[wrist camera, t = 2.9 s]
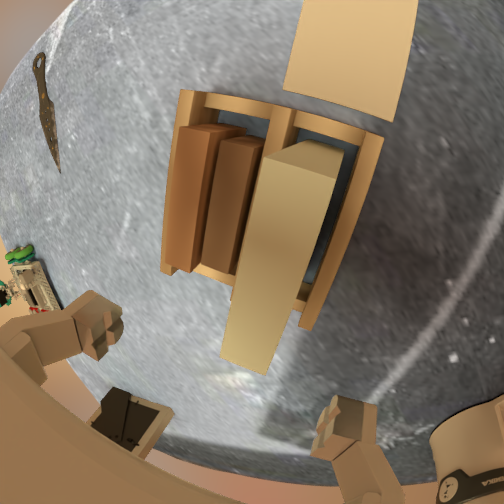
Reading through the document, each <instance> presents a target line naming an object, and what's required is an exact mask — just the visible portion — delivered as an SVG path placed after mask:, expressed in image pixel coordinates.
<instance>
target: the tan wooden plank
mask: <svg viewBox="0 0 504 504" xmlns="http://www.w3.org/2000/svg"><path fill="white" fill-rule="evenodd" d="M344 151H345V150H343V149H340V148H337V147H334V146H331V145H328V144H325V143H321V142H318V141H315V140H312V139H308V140H305V141H303V142H300V143H297V144H295V145H292V146H290V147H287V148H285V149H282V150H280V151H277V152H275V153H272V154H270V155H268V156H265V157H264V158H263V162H262V167H261V171H260V175H259V180H258V184H257V188H256V193H255V197H254V202H253V206H252V211H251V215H250V220H249V224H248V228H247V233H246V237H245V242H244V246H243V251H242V255H241V260H240V264H239V269H238V274H237V278H236V283H235V287H234V292H233V296H232V301H231V306H230V310H229V315H228V319H227V324H226V329H225V333H224V338H223V343H222V347H221V352H220V358H223V359H225V360H227V361H230V362H232V363H234V364H237V365H239V366H242V367H244V368H247V369H249V370H252V371H254V372H257V373H260V374H262V375H266V372H267V370H268V368H269V365H270V363H271V360H272V358H273V356H274V353H275V351H276V348H277V346H278V343H279V341H280V338H281V336H282V333H283V331H284V328H285V326H286V323H287V320H288V318H289V315H290V313H291V310H292V307H293V305H294V302H295V299H296V297H297V294H298V291H299V289H300V286H301V283H302V281H303V278H304V275H305V272H306V270H307V267H308V264H309V261H310V258H311V255H312V253H313V250H314V247H315V244H316V241H317V238H318V235H319V232H320V229H321V226H322V223H323V220H324V217H325V214H326V211H327V208H328V205H329V202H330V198H331V195H332V192H333V189H334V186H335V183H336V179H337V176H338V172H339V169H340V166H341V162H342V158H343V155H344Z"/></svg>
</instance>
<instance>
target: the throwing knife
mask: <svg viewBox="0 0 504 504" xmlns="http://www.w3.org/2000/svg"><path fill="white" fill-rule="evenodd" d="M39 58H41V60H42V61H41V65H40V67H39V68H38V67H37V62H38V60H39ZM45 59H46V57H45V54H44V53H43V52H42V53H39V54H38V55H37V56H36V58H35V59H34V62H33V72H34V75H35V77H36V81H37V86H38V93H39V101H40V115H39V117H40V121H41V125H42V128H43V131H44V135H45V138H46V141H47V143H48V146H49V149H50V151H51V154H52V156H53V159H54V161H55V163H56V165H57V167H58V170H59V172H60V162H59V151H58V143H57V133H56V124H55V114H54V105H53V102H52V101H51V100H49V97H48V94H47V88H46V81H45ZM45 111H46V112H45ZM47 119H48V121H47ZM49 128H50V131H49ZM51 137H52V141H51ZM60 174H61V172H60Z"/></svg>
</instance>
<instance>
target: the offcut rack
mask: <svg viewBox="0 0 504 504" xmlns="http://www.w3.org/2000/svg"><path fill="white" fill-rule="evenodd" d="M220 109H221V110H226V111H231V112H236V113H241V114H246V115H251V116H255V117H260V118H264V119H268V120H270V123H269V127H268V132H267V136H266V140H265V145H264V149H263V154H262V158H261V162H260V167H259V171H258V176H257V180H256V184H255V189H254V193H253V198H252V202H251V207H250V211H249V216H248V220H247V225H246V229H245V234H244V238H243V243H242V247H241V252H240V257H239V261H238V263H237V264H236V265H235V266H234V268H233V269H232V270H231V271H230V272H229V274H228V275H227V274H225V273H222V272H219V271H217V270H214V269H212V268H209V267H207V266H204V265H201V263H200V264H199V265H198V266H197V267H196V268H195V269H194V270H193V271H195V272H197V273H200V274H202V275H205V276H207V277H210V278H212V279H215V280H217V281H220V282H222V283H225V284H227V285H230V286H233V289H232V294H231V298H230V301H232V296H233V292H234V287H235V283H236V278H237V274H238V269H239V264H240V260H241V255H242V251H243V246H244V242H245V237H246V233H247V228H248V224H249V220H250V215H251V211H252V206H253V202H254V197H255V193H256V188H257V184H258V180H259V175H260V171H261V167H262V162H263V158H264V157H265V156H268V155H270V154H272V153H275V152H277V151H280V150H282V149H285V148H287V147H290V146H292V145H295V144H296V140H297V136H298V132H299V128H303V129H307V130H310V131H314V132H317V133H321V134H324V135H327V136H330V137H334V138H337V139H340V140H343V141H346V142H349V143H352V144H355V145H358V146H359V148H358V151H357V154H356V158H355V161H354V164H353V168H352V171H351V174H350V177H349V180H348V184H347V187H346V190H345V193H344V196H343V199H342V202H341V205H340V208H339V211H338V214H337V217H336V220H335V223H334V226H333V228H332V231H331V234H330V237H329V240H328V243H327V245H326V248H325V251H324V254H323V256H322V259H321V262H320V264H319V267H318V270H317V272H316V275H315V278H314V280H313V283H312V285H310V284H307V283H304V282H302V283H301V286H300V289H299V291H298V294H297V297H296V299H295V302H294V305H293V307H292V309H294V310H296V311H299V312H302V315H301V318H300V321H299V324H298V327H301V328H304V329H307V330H310V331H311V330H312V328H313V325H314V323H315V321H316V319H317V317H318V314H319V312H320V310H321V308H322V306H323V303H324V301H325V299H326V296H327V294H328V292H329V290H330V287H331V285H332V282H333V280H334V278H335V275H336V273H337V271H338V268H339V266H340V263H341V261H342V258H343V256H344V253H345V251H346V248H347V246H348V243H349V240H350V238H351V235H352V233H353V230H354V227H355V225H356V222H357V219H358V216H359V214H360V211H361V208H362V205H363V202H364V200H365V197H366V194H367V191H368V188H369V185H370V182H371V179H372V176H373V173H374V170H375V167H376V164H377V160H378V157H379V154H380V151H381V147H382V144H383V141H384V138H383V137H381V136H379V135H376V134H374V133H371V132H368V131H365V130H362V129H359V128H357V127H354V126H351V125H347V124H344V123H341V122H338V121H335V120H331V119H328V118H325V117H321V116H318V115H314V114H311V113H307V112H303V111H299V110H295V109H291V108H287V107H283V106H279V105H275V104H270V103H266V102H261V101H256V100H251V99H246V98H240V97H235V96H229V95H223V94H217V93H210V92H202V91H193V90H183V89H181V90H180V95H179V101H178V107H177V112H176V119H175V125H174V131H173V138H172V145H171V153H170V160H169V168H168V177H167V186H166V196H165V207H164V218H163V231H162V247H161V265H160V271H161V272H163V273H165V274H167V275H170V276H171V275H173V274H174V273H175V272H176V271H177V270H178V268H176V267H173V266H171V265H168V264H166V263H165V251H166V237H167V224H168V213H169V203H170V193H171V184H172V175H173V167H174V160H175V152H176V145H177V138H178V132H179V127H181V126H191V125H201V124H214V123H217V121H218V115H219V110H220Z"/></svg>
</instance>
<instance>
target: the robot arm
mask: <svg viewBox="0 0 504 504" xmlns="http://www.w3.org/2000/svg"><path fill="white" fill-rule="evenodd" d="M121 315H122V308H121V307H120V306H118V305H116V304H115V303H113V302H111V301H109V300H108V299H106V298H104V297H103V296H101V295H99V294H98V293H96V292H94V291H93V290H89V291H86V292H85V293H84V294H82V295H81V296H80V297H79V298H77V299H76V300H75V301H73V302H72V303H71V304H70V305H68V306H67V307H66V308H65V309H63V310H60V309H57V310H52V311H47V312H42V313H37V314H32V315H27V316H21V317H16V318H12V319H10V320H9V321H8V322H6V323H5V324H4V325H3V326H1V327H0V504H246V503H243V502H240V501H237V500H233V499H231V498H228V497H225V496H223V495H220V494H217V493H214V492H212V491H209V490H207V489H204V488H202V487H199V486H197V485H195V484H192V483H190V482H188V481H185V480H183V479H181V478H179V477H177V476H175V475H173V474H171V473H168V472H166V471H164V470H162V469H160V468H158V467H157V466H155V465H153V464H151V463H149V462H147V461H145V460H143V459H142V458H140V457H138V456H136V455H135V454H133V453H131V452H129V451H128V450H126V449H124V448H123V447H121V446H119V445H118V444H116V443H115V442H113V441H112V440H110V439H108V438H107V437H105V436H104V435H102V434H101V433H99V432H98V431H96V430H95V429H94V428H92V427H91V426H89V425H88V424H87V423H85V422H84V421H82V420H81V419H80V418H78V417H77V416H76V415H74V414H73V413H72V412H70V411H69V410H68V409H67V408H65V407H64V406H63V405H62V404H60V403H59V402H58V401H56V400H55V399H54V398H53V397H52V396H51V395H50V394H48V393H47V392H46V391H45V390H44V389H43V388H41V387H40V386H41V385H42V384H43V383H44V382H45V381H46V380H47V374H46V372H45V370H44V368H43V366H46V365H49V364H52V363H55V362H57V361H60V360H63V359H66V358H69V357H71V356H74V355H77V354H80V353H82V352H84V353H85V354H87V355H88V356H90V357H92V358H93V359H95V360H96V361H99V360H100V359H101V358H102V357H103V356H104V355H105V354H106V353H107V352H108V348H109V345H113V344H116V342H117V341H118V340H119V339H120V337H121V335H122V333H123V329H124V325H123V321H122V320H121V318H120V316H121ZM376 425H377V406H376V405H373V404H369V403H366V402H362V401H359V400H355V399H351V398H347V397H343V396H340V395H335V396H334V397H333V398H332V400H331V404H330V406H327V407H326V408H325V409H324V410H323V412H322V414H321V416H320V418H319V420H318V423H317V427H316V431H317V433H318V436H317V437H316V438H315V439H314V440H313V445H312V449H311V453H310V456H313V457H317V458H321V459H324V460H328V461H332V462H331V463H332V466H333V469H334V472H335V475H336V478H337V481H338V484H339V487H340V490H341V493H342V495H343V499H344V502H345V503H344V504H404V503H405V493H404V491H403V489H402V488H401V486H400V484H399V482H398V480H397V478H396V476H395V474H394V472H393V471H392V469H391V467H390V465H389V463H388V461H387V459H386V457H385V456H384V454H383V452H382V450H381V448H380V446H379V445H376V444H375V442H376ZM429 442H430V446H431V448H432V451H433V459H434V460H435V465H436V472H437V480H438V488H439V489H438V493H437V497H436V504H504V394H503V395H501V396H500V397H498V398H496V399H494V400H493V401H490V402H488V403H484V404H481V405H478V406H475V407H472V408H469V409H467V410H465V411H463V412H460V413H458V414H457V415H455V416H453V417H451V418H450V419H448V420H447V421H445V422H444V423H442V424H441V425H440V426H439V427H438V428H437V429H436V430H435V431H434V432H433V433H432V435H431V437H430V441H429Z"/></svg>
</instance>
